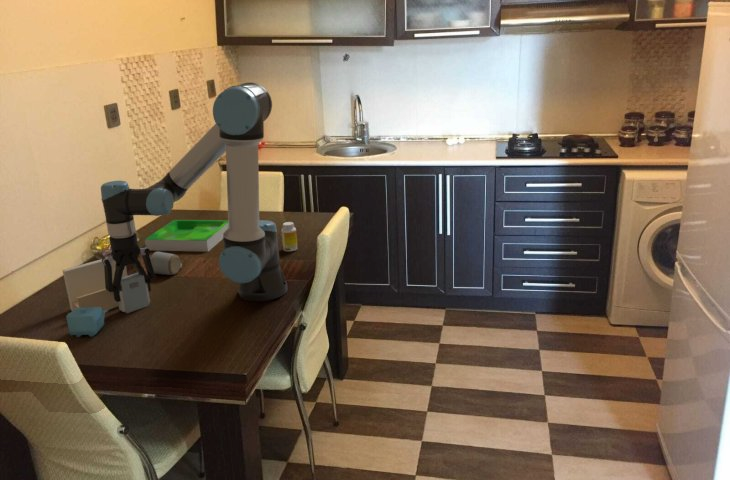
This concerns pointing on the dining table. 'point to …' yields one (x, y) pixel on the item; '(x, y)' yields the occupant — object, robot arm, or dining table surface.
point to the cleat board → (90, 286)
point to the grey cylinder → (165, 263)
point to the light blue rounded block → (85, 321)
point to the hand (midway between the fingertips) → (135, 306)
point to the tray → (187, 235)
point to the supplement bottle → (289, 237)
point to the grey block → (134, 292)
